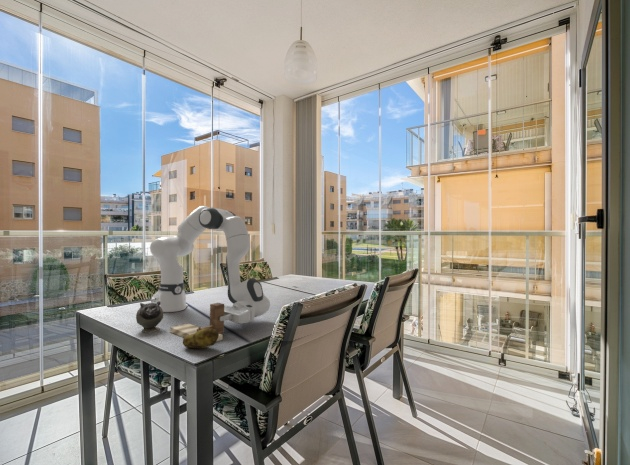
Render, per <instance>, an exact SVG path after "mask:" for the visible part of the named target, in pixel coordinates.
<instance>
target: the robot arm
mask: <svg viewBox="0 0 630 465" xmlns="http://www.w3.org/2000/svg"><path fill="white" fill-rule="evenodd" d="M206 230H213V231H216V232H217V231H223V233H224V236H225V240H226V247H227V249H226V250H227V253H226V256H225V267H226V275H227V284H228V285H227V299H228V300H229V301H230V302H231V303H232V306H231V305H225V304H224V316H219V317H218V318H219V319H218V320H219V321H224V322H225V321H229V322H234V323H237V324H245V323H252V322H253V323H254V322H255V318H257V317H261V316H263V315H265V314H266V313H268V311H269V310H270V308H271V307H270V306H271V302H270V300H269V298H268V297H267V296H266V295H265V293H264V291H263V286H262V283H261V282H260V281H259V280H258V279H257V278H255V277H250V278H248V279H245V280H244V281H242V282H241V274H240V263H241V262H242V260H243V258H244V257H245V256H246V255H247V254H248V253H249V251H250V249H251V239H250V235H249V234H250V233H249V231H248V229H247V225H246V223H245V221H244V219H243V218H242V217H241V216H238V215H236V213H234V212H232V211H230V210H226V209H222V208H214V207H209V206H206V205H200V206H198V207H197V208H196V209H194V210H193V211H192V212H190V213H189V214H188V215H187V217H185V219H183V220H182V221H181V223H179V225H178V227H177V231H178V232H177V234H176V235H175V236H162V237H158V238H155V239H153V240H152V241H151V243H150V244H149V245H150V246H149V249H150V253H151V254H152V256H153V257H155V258H156V260H157V262H158V264H159V268H160V283H159V284H158V290H157V292H155V293H154V294H153V295H152V296H151V298H150V303H156V304H157V302H159V301H160V302H161V303H160V305H159V306H160V307H161V308H162V310H163V313H172V312H173V313H175V312H180V311H183V310H185V309H186V308H187V307H188V306H189V305H188V304H187V297H186V291H185V290H184V289H185V282H184V268H183V266H182V265H181V264H179V263H180V262H179V260H178V258H181V257H185V256H188V255H190V254H191V253H192V252H193V251H194V247H195V246H194V243H195V241H196V240H197V239H198V238H199V237H200V236H201V235H202V233H204V232H205V231H206Z"/></svg>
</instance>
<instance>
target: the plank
mask: <svg viewBox="0 0 630 465" xmlns="http://www.w3.org/2000/svg"><path fill="white" fill-rule="evenodd" d="M198 327H199V326H197V325H194V324H191V323H189V322H188V323H184V324H179V325H174V326H170V328H169V330H170V333H172V334H174V335H176V336H179V337H182V338H183V339H184V338H185V337H186V336H188V335H190V334H194V333H196V332H197V329H198ZM218 334H219V333H218ZM222 340H223V333H221V334H219V336H218V339H217V341H216V343H217V342H219V341H222Z"/></svg>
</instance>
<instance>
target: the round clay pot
mask: <svg viewBox="0 0 630 465" xmlns="http://www.w3.org/2000/svg"><path fill="white" fill-rule="evenodd" d="M160 303H161V302H160V301H159V302H157V304H156V303H151V302H150V303H149V302H148V303H142V302H140V304H139V305H140V308H138V310H137V311H136V314H135V315H136V316H135V319H136V320H135V321H136V322H137V324H138V325H139V326H141V327H142V329H141V330H142V331H143V332H142V331H141V332H142V333H155V332H157V331H159V330H161V328H160V327H158V325H159V324H160V323H161V322H162V320H163V319H164V312H163V310H162V308H161V307H160V306H159V305H160Z"/></svg>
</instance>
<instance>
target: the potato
mask: <svg viewBox="0 0 630 465" xmlns="http://www.w3.org/2000/svg"><path fill="white" fill-rule="evenodd" d="M218 336H219V334H218V332H217V331H216V330H215V329H213V328H204V329H201V330H199V331H198V332H196V333H194V334H190V335H188V336H186V337H185V338H184V337H183V339H182V345H183V346H184V347H185V348H188V349H190V348H191V349H198V350H199V349H204V348H207V347H212V346H215V344H216V343H217V342H218V341H217V339H218ZM216 341H217V342H216Z"/></svg>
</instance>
